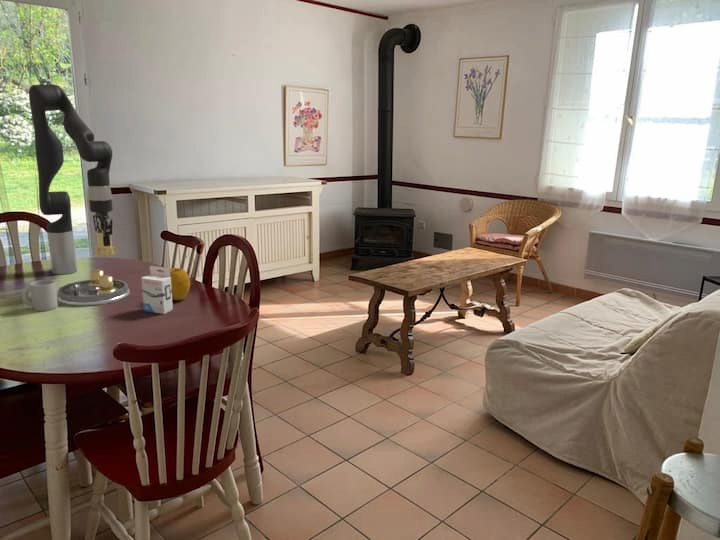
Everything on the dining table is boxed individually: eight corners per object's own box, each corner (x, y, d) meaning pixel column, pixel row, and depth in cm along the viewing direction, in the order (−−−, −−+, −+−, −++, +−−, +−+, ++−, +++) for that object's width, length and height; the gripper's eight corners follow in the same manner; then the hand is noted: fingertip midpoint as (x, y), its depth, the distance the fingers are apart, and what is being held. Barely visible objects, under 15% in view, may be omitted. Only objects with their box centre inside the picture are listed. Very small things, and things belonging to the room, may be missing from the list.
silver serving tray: (50, 293, 199) (47, 273, 197) (117, 283, 214) (115, 264, 212) (67, 310, 182) (64, 288, 180) (139, 297, 197) (137, 277, 195)
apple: (157, 299, 196) (155, 267, 193) (180, 293, 204) (178, 262, 201) (173, 305, 191) (171, 272, 188) (196, 298, 198) (195, 267, 195)
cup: (58, 309, 183) (55, 284, 181) (23, 314, 178) (20, 287, 176) (57, 303, 189) (54, 278, 187) (23, 307, 184) (20, 282, 182)
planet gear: (92, 252, 202) (90, 231, 200) (111, 250, 207) (110, 229, 205) (99, 256, 197) (97, 234, 195) (118, 253, 202) (116, 232, 200)
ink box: (142, 311, 184) (139, 268, 180) (152, 306, 188) (149, 265, 185) (164, 314, 181) (161, 271, 178) (173, 309, 186) (170, 267, 182)
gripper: (82, 196, 199) (87, 242, 204) (96, 201, 189) (100, 249, 194) (104, 195, 204) (108, 240, 209) (118, 199, 194) (122, 246, 199)
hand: (104, 244), depth 201 cm, fingers closed on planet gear, 4 cm apart
